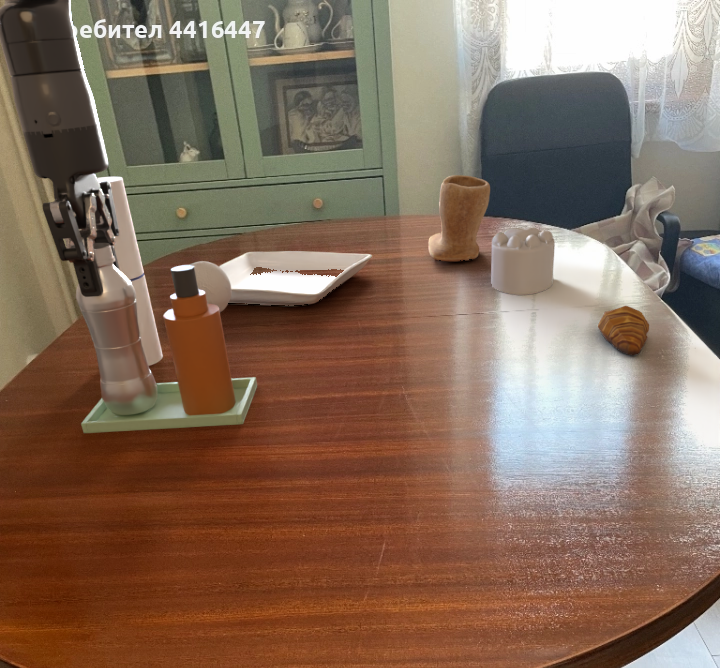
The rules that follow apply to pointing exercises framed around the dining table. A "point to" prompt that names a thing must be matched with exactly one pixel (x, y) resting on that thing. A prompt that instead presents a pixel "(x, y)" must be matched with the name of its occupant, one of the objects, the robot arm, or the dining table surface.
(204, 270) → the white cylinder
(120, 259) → the cylindrical container
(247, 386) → the tray
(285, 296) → the square plate
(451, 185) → the clay boot
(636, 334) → the croissant
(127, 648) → the dining table surface
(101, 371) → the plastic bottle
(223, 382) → the amber bottle
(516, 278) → the lumpy-topped squat cylinder
